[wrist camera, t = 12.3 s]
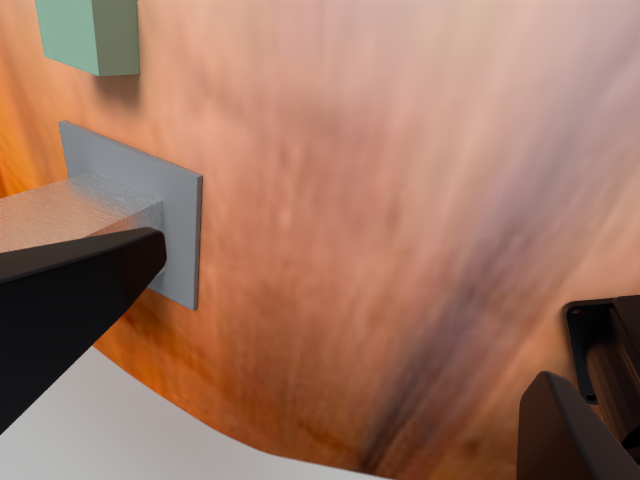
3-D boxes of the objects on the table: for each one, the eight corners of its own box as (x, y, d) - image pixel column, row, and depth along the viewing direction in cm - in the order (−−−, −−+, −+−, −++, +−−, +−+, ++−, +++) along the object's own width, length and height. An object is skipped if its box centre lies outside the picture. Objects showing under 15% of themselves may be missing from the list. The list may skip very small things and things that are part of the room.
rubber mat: (202, 175, 23) (197, 177, 23) (197, 306, 30) (193, 310, 29) (65, 120, 26) (58, 121, 25) (87, 252, 32) (82, 255, 32)
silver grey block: (162, 200, 25) (6, 273, 17) (164, 270, 28) (35, 360, 20) (92, 170, 26) (-84, 224, 18) (102, 241, 30) (-42, 313, 21)
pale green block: (138, -3, 20) (89, -12, 17) (142, 73, 22) (99, 76, 19) (83, -20, 20) (29, -30, 18) (92, 56, 23) (44, 56, 20)
